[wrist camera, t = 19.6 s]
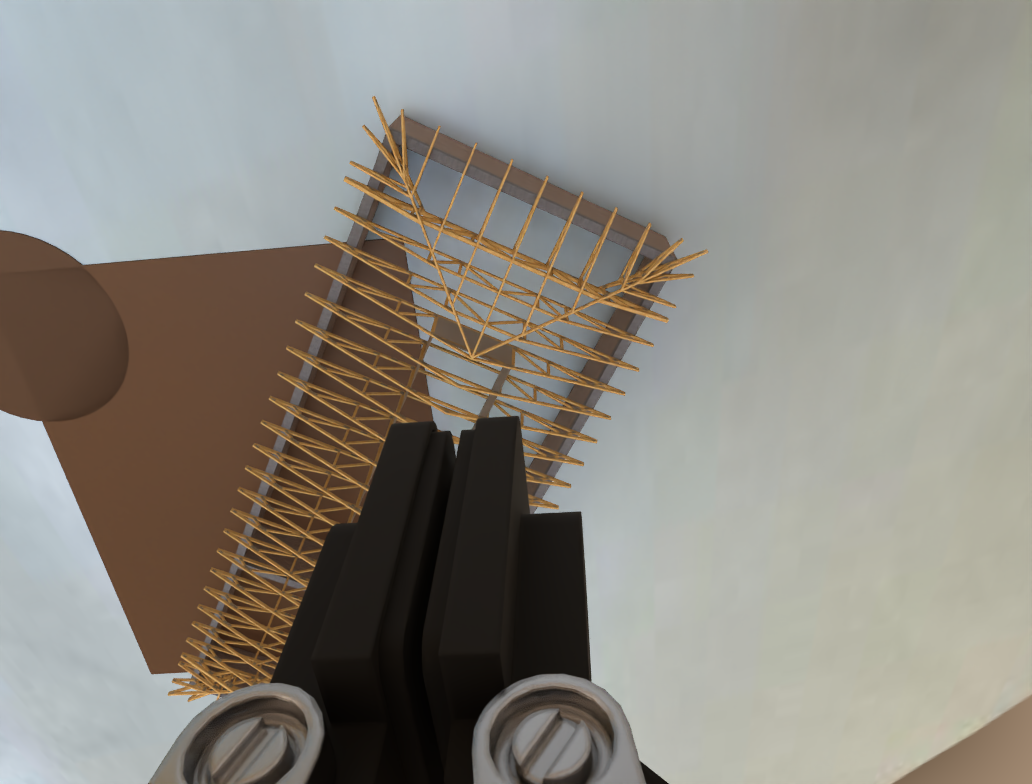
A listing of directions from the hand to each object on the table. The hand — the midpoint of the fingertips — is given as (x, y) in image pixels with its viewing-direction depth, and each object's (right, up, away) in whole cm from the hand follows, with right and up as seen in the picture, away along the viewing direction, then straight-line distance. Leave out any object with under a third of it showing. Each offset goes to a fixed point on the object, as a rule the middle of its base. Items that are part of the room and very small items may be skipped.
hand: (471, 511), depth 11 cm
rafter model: (-5, -2, +31) cm, 31 cm away
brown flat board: (-15, -3, +31) cm, 35 cm away
